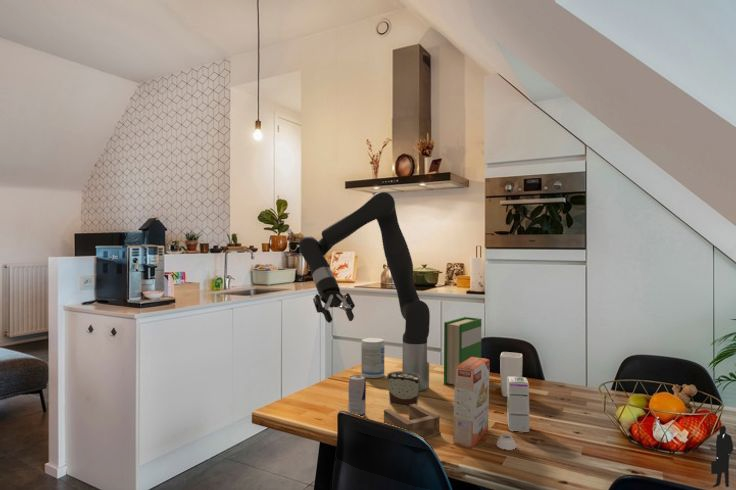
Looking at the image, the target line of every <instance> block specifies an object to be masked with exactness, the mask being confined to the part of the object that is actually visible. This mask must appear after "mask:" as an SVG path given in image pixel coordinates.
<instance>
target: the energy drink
mask: <svg viewBox="0 0 736 490" xmlns="http://www.w3.org/2000/svg"><path fill="white" fill-rule="evenodd" d="M366 381H367V380H366V377H365V376H362V374H354V375H353V374H352V375H350V376H349V378H348V405H347V406H348V412H350V413H353V414H357V415H360V416H363V418H364V417H365V416H366V409H367V407H366V403H367V402H366V399H367V397H366V396H367V395H366V394H367V386H366V384H367V382H366ZM348 412H347V413H348Z"/></svg>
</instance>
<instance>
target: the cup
mask: <svg viewBox="0 0 736 490" xmlns="http://www.w3.org/2000/svg"><path fill="white" fill-rule="evenodd" d="M499 361H500V363H499V364H500V365H499V366H500V367H499V369H500V370H499V372H500V375H499V376H500V387H501V396H503V397H504V398H507V377H512V376H516V377H523V353H519V352H509V351H502V352H501V353H500V356H499Z"/></svg>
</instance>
